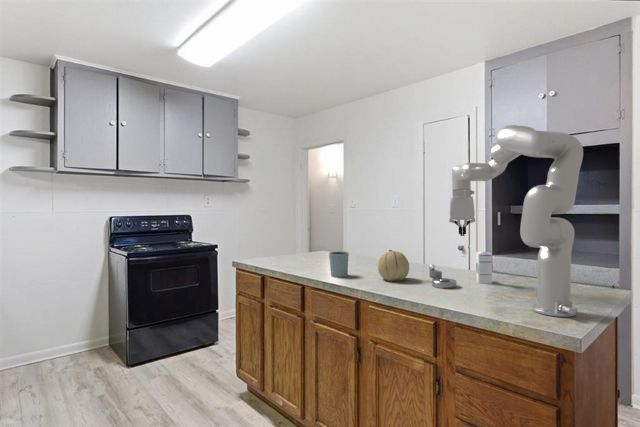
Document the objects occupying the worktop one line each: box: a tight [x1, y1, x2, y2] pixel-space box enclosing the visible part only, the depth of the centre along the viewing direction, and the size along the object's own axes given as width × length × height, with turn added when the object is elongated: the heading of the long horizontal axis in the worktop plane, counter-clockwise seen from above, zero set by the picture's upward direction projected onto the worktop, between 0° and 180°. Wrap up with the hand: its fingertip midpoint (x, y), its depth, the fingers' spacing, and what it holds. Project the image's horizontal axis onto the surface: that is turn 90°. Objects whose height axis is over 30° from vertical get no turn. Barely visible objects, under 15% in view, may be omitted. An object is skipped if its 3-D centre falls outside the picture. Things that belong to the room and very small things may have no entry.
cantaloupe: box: [377, 249, 410, 282], centre depth 177 cm, size 15×15×15 cm
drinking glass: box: [328, 251, 349, 278], centre depth 193 cm, size 10×10×12 cm
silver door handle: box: [428, 263, 457, 290], centre depth 165 cm, size 17×10×8 cm, turn 12°
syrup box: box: [475, 251, 493, 285], centre depth 169 cm, size 6×6×14 cm
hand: (462, 235), depth 165 cm, fingers closed
